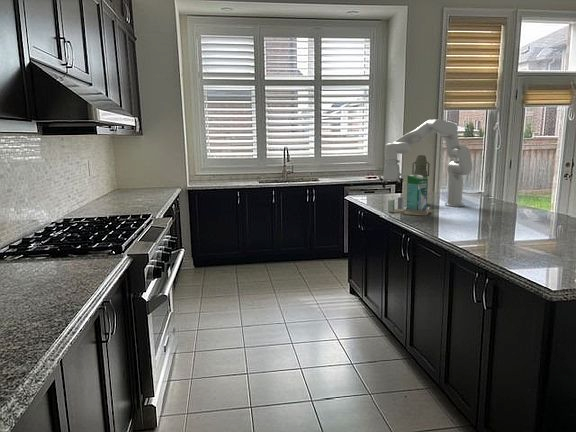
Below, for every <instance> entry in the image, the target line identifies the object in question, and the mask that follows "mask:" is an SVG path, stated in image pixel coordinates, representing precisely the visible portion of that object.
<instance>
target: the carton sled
mask: <svg viewBox="0 0 576 432" xmlns="http://www.w3.org/2000/svg"><path fill="white" fill-rule="evenodd" d="M395 204H396V203H395V198H389V199H388V200H387V213H398V214H399V213H402V214H403V215H409V216H411V215H413V216H428V214H429V213H430V211H431V210H430V209H431V207H430V206H427V209H426V210H407V206H405V207H406V208H405V209H398V208H397V209H395V207H396V206H395Z"/></svg>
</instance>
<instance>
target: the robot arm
mask: <svg viewBox="0 0 576 432" xmlns="http://www.w3.org/2000/svg"><path fill="white" fill-rule="evenodd" d="M458 130H459V128H458V125H457V124H456V123H455V122H452V121H449V120H443V119H438V118H436V119H427V120H426V121H424V122H423V123H422V124H421V125H419V126H418V127H416V128H415V129H414V130H411V131H410V132H407V133H406V134H404V135H402V136H400V137H398V138H397V139H396V140H395V141H393V142H387V143H386V144H385V148H384V149H385V150H384V151H385V157H384V158H385V164H384V166H383V173H381V174H378V175H377V176H378V179H379V180H380V182H382V183H381V185H382V189H386V180H389V181H392V180H393V181H394V180H396V181H397V189H398V190H399V189H401V187H402V186H401V185H402V184H401V183H402V182H403V181H404V179H405V176H406V175H405V174H402V173H400V172H401V171H400V164H399V163H400V160H398V155H399V154H400V155H401V154H402V155H404V154H408V153H409V152H410V149H411V146H410V145H413V144H417V143H420V142H422V141H423V140H424V139H426V138H427V137H428V136H429V135H430V136H431V134H433V133H436V134H437V135H438V136H441V137H442V138H443V139H444V141H445V147H446V152H447V153H446V155H447V156H448V158H449V159H450V160H451V159H452V160H451V161H449V163H448V164H447V175H448V185H447V186H448V187H447V202H445V204H444V205H445V206H446V207H464V206H465V204H464V203H462V202H463V185H464V178H463V176H467V175H470V174H471V173H472V171H473V161H472V155H471V151H470V149H469V147H468V146H466V145H461V144H460V140H459V136H458V134H457V132H458ZM400 177H401V178H400Z"/></svg>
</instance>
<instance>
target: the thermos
mask: <svg viewBox="0 0 576 432" xmlns="http://www.w3.org/2000/svg"><path fill="white" fill-rule="evenodd" d="M414 165H415V167H414ZM411 166H412V169H411V171H412V172H411V175H414V174H418V175H422V176H423V177H425V178H428V177H429V176H430V163H429V162H428V161H427V156H426V155H423V154H421V155H419V154H418V155H416V157H415V161H414V162H413V163H412V164H411ZM414 168H415V169H414Z"/></svg>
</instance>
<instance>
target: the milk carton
mask: <svg viewBox="0 0 576 432" xmlns="http://www.w3.org/2000/svg"><path fill="white" fill-rule="evenodd" d="M406 178H407V181H406V182H407V184H406V207H407V210H426V209H427V207H428V185H429V182H428V181H429V179H428V177H427V178H425V177H423V176H422V175H418V174H413V175H412V174H407V177H406Z"/></svg>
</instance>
